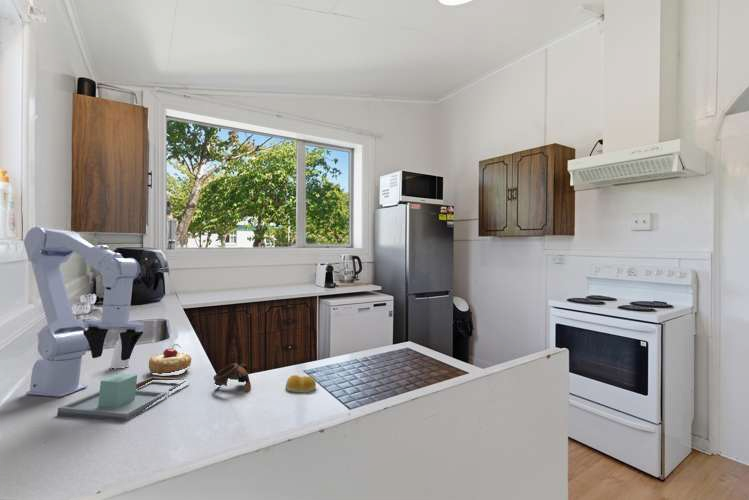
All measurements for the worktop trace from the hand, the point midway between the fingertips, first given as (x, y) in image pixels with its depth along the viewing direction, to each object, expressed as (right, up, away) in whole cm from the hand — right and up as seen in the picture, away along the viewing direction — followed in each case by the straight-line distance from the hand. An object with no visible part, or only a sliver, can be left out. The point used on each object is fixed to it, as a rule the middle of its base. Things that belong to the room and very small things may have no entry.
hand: (111, 358), depth 89 cm
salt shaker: (-17, -11, +26) cm, 33 cm away
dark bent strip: (+7, -11, +9) cm, 16 cm away
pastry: (0, -12, +24) cm, 27 cm away
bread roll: (+44, -15, +17) cm, 50 cm away
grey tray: (+4, -11, -4) cm, 12 cm away
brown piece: (+26, -13, +14) cm, 32 cm away
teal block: (+4, -10, -4) cm, 11 cm away
